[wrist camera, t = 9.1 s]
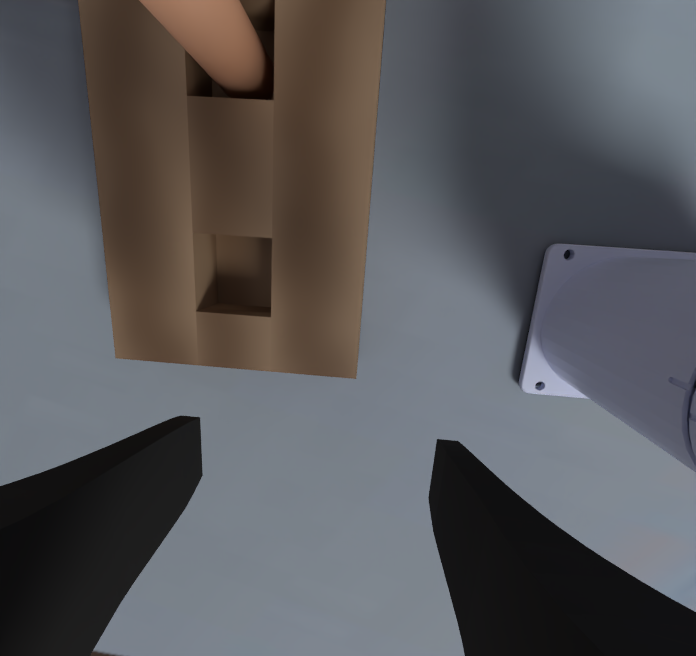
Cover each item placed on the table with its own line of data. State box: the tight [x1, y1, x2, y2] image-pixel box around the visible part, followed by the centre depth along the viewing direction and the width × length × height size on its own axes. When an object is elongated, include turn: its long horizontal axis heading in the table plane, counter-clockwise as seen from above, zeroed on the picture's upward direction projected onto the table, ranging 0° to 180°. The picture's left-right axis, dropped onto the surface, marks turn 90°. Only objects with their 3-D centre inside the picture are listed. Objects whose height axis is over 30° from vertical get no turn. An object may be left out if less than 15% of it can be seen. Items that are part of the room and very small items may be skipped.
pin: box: [139, 0, 274, 100], centre depth 12 cm, size 2×2×8 cm
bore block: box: [78, 0, 386, 379], centre depth 16 cm, size 12×18×3 cm, turn 176°
